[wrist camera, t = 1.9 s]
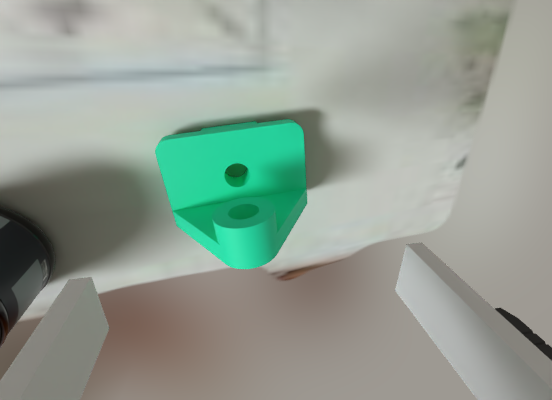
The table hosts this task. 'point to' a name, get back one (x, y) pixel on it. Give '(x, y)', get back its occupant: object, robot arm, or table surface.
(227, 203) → the camera mount
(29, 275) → the supplement container
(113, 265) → the table surface
